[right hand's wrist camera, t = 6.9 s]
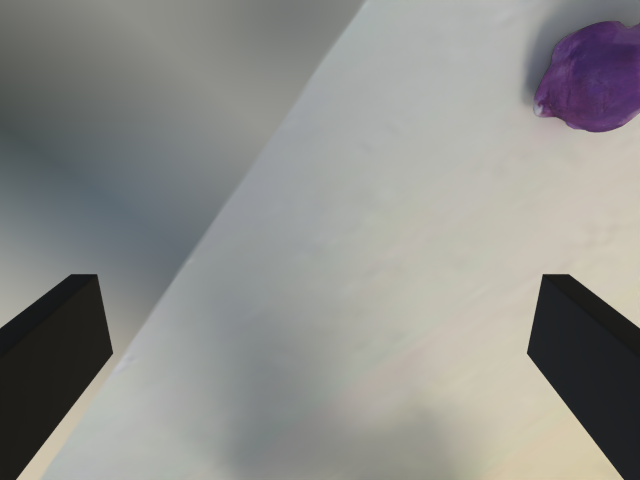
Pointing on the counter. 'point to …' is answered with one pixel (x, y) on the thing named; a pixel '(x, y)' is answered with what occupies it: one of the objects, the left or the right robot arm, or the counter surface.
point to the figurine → (593, 78)
